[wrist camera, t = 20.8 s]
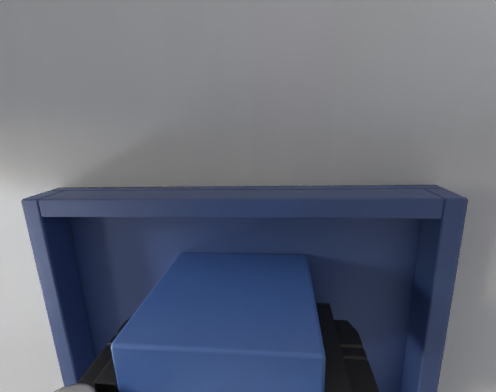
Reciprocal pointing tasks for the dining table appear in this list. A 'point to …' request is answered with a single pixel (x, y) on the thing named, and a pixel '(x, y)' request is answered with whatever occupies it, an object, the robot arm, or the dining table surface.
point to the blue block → (225, 328)
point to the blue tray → (256, 242)
